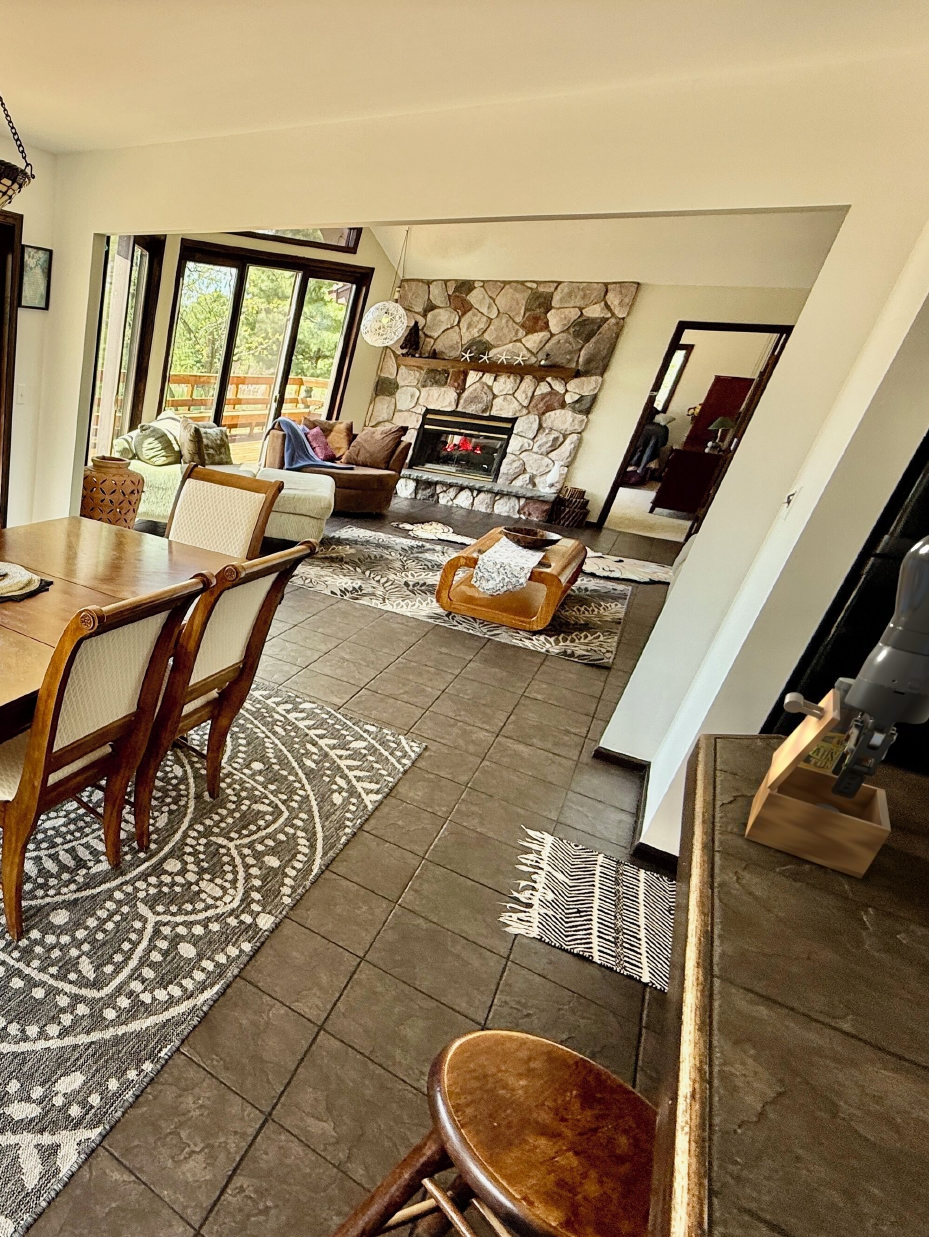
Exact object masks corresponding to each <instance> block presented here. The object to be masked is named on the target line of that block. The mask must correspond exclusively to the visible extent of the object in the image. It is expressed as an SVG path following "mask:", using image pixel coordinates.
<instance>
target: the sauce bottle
mask: <svg viewBox="0 0 929 1237" xmlns="http://www.w3.org/2000/svg"><path fill="white" fill-rule="evenodd" d="M855 680H856V679H854V678H849V677H839V678H838V679H837V681H835V683H834V689H835V690H838V691H839V695H840V721H839V722H838V723H837V724H836V725H835V726H834V727H833V728H832V729H831V731H830V732H829V733H828V734H827V735H826V736H825V737H824V738H823V739H822V740H821V741H820V742H819V743H818V744H817V746H816V747H815V748H814V749H813V750H812V751H811V752H810V753H809V754H808V755H807V756H806V757H805V758H804V759H803V760H802V762H801V763H800V764H799V765H800V766H804V767H807V768H811V769H814V770H818V771H821V772H825V773H828V774H831V775H833V774H832V769H833V767H834V765H835V763H836V762H837V760H838V758H839V756H840V754H841V753H842V751H844V750H842V748H843V747H842V745H843V744H845V742H844V738H845V735H846V733H847V731H848V730H849V727H850V724H851V722H852V720H853V719H854V718H856V719H857V717H858V715H859V714H860V712H859V711H856V710H854V709H852V708H850V707H849V706H847V705H846V704H845V698H846V696H847V694H848V692H849V691H850V689H851V687H852V685H853V683H854V681H855ZM807 716H808V715H807V714H806V716H805V718H804V720H805V719H806V717H807Z"/></svg>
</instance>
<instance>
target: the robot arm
mask: <svg viewBox="0 0 929 1237" xmlns="http://www.w3.org/2000/svg"><path fill="white" fill-rule="evenodd" d="M894 608H895V609H894V614H893V616H892V618H891V619H890V622H889V623H888V625H887V626H886V629H885V630H884V631H883V634H882V635H881V637H880V640H879V641H878V643H877V644H876V646H875V647H874V648H873V649H872V651H871V652H870V653H869V655H868V656H867V658H866V660H865V661H864V662H863V665H862V667H861V669H860V670H859V673H858V674H857V676H856V677H855V679H854V680H855V681H854V683H853V685H852V687H851V689H850V691H849V692H848V694H847V696H846V698H845V704H846V705H847V706H849V707H850V708H852V709H854V710H856V711H859V712H860V714H859V715H858V717H857V719H856V718H854V719H853V720H852V722H851V724H850V727H849V730H848V731H847V733H846V735H845V738H844V742H845V744H843V745H842V747H843V748H842V750H844V751H842V753H841V754H840V756H839V758H838V760H837V762H836V763H835V765H834V767H833V769H832V774H833V775H835V776H838V778H837V780H836V782H835V783H834V785H833V787H832V789H831V791H832V793H833V794H835V795H839V796H842V797H845V798H849V799H852V798H854V797H855V796H856V794H857V792H858V790H859V789H860V787H861V785H862V784H864V782H865V781H866V779H867V777H873V776H874V775H875V774H876V772H877V769H878V766H879V765H880V764H881V762H882V760H884V759H885V757H886V755H887V753H888V749H889V747H890V746H891V745H892V744H894V742H895V741H896V738H897V736H898V733H897V732H896V731H897V728H896V727H894V726H895V724H896V723H904V724H909V725H910V724H911V725H917V724H918V725H919V724H924V723H925V722H927V721H928V719H929V535H927V536H925V537H922V539H920V540H919V541H918V542H916V543H915V544H914V545H913V546H912V547H911V548H910V549H909V550H908V552H906V555H905V556H904V557H903V560H902V562H901V564H900V569H899V576H898V582H897V591H896V596H895V606H894ZM864 761H867V764H863V763H864Z"/></svg>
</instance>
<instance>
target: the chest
mask: <svg viewBox="0 0 929 1237" xmlns="http://www.w3.org/2000/svg"><path fill="white" fill-rule="evenodd" d="M770 770H771V766H770V767H769V768H768V771H767V772H766V775H765V777H764V778H763V781H762V782H761V785H760V786H759V788H758V790H757V791H756V794H755V796H754V797H753V800H752V803H751V808H750V813H749V817H748V821H747V824H746V825H747V826H746V830H745V834H744V838H745V839H746V840H749V841H752V842H755V843H759V844H762V845H764V846H767V847H770V848H773V849H775V850H778V851H780V852H783V853H787V854H790V855H792V856H795V857H798V858H800V859H804V860H806V861H809V862H811V863H812V862H813V863H815V864H817V865H819V866H822V867H826V868H829V869H831V870H834V871H837V872H839V873H843V874H846V875H848V876H851V877H855V878H857V879H861V880H862V879H863V877H864V875H865V874H866V872H867V870H868V869H869V867H870V865H871V864H872V863H873V861H874V859H875V858H876V856H877V854H878V853H879V851H880V849H881V848H882V847H883V845H884V844H885V842H886V841H887V838H888V837H889V835H890V833H891V832H892V828H891V822H890V816H889V815H890V814H889V809H888V808H889V807H888V801H887V795H886V790H885V789H884V788H880V787H876V786H873V785H869V784H865V783H863V784H862V785H861V787H860V789H859V790H858V792H857V794H856V796H855V797H854V798H852V799H849V798H845V797H842V796H839V795H835V794H833V793H832V791H831V789H832V787H833V785H834V783H835V782H836V780H837V778H838V776H836V775H831V774H828V773H825V772H821V771H818V770H814V769H811V768H807V767H804V766H800V765H798V766H797V767H796V768H795V769H794V770H793V771H792V772H791V773H790V774H789V775H788V777H787V778H786V779H785V780H784V781H783V782H782V783H781V784H780V785H779V786H778V787H777V788H776V789H775V790H774V791H773V790H770V789H768V788H767V785H768V780H769V775H770ZM816 803H821V804H826V805H829V806H832V807H834V808H836V809H838V810H839V812H836V811H832V810H829V809H826V808H823V807H820V806H817V805H815V804H816Z"/></svg>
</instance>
